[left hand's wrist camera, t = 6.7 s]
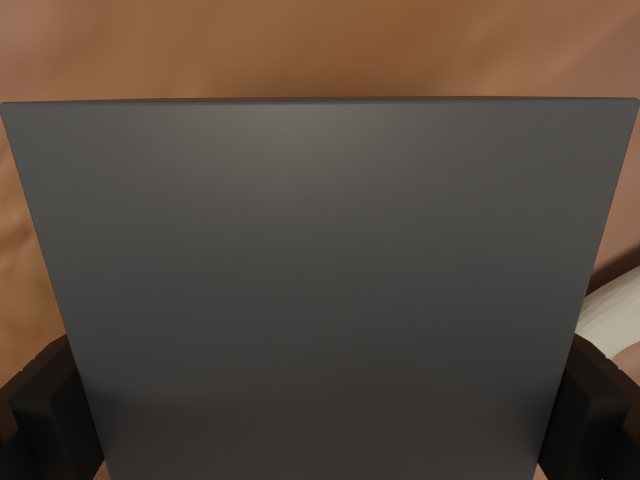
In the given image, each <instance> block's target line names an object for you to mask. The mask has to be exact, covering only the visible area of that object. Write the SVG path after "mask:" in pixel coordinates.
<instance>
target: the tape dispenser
mask: <svg viewBox="0 0 640 480" xmlns="http://www.w3.org/2000/svg"><path fill="white" fill-rule="evenodd" d="M575 333H576V334H578V335H580V336H581V337H583V338H585V339H587V340H588V341H590V342H592V343H593V344H594V345H595V346H596V347H597V348H598V349H599V350H600V351H601V352H602V353H604V354H605V355H606V358H609V359H610V360H611V359H612V358H613V357H614V356H615V355H616V354H617V353H619V352H620V351H622V350H623V349H625V348H626V347H628V346H630V345H632V344H634V343H636V342H639V341H640V266H638V267H636V268H634V269H633V270H631V271H629V272H627V273H625V274H623V275H621V276H620V277H618V278H616V279H614V280H613V281H611V282H609V283H607V284H605V285H604V286H602V287H600V288H599V289H597V290H596V291H594V292H593V293H591V294H589V295H588V296H586V297H585V298H584V302H583V305H582V309H581V312H580V316H579V319H578V323H577V326H576V330H575Z"/></svg>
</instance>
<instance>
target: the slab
mask: <svg viewBox="0 0 640 480" xmlns="http://www.w3.org/2000/svg"><path fill="white" fill-rule="evenodd" d="M639 105H640V100H639V99H637V98H609V97H522V96H415V97H276V98H155V99H115V100H75V101H35V102H3V103H1V104H0V114H1V117H2V120H3V124H4V127H5V130H6V134H7V137H8V140H9V144H10V147H11V150H12V154H13V157H14V160H15V164H16V167H17V170H18V174H19V177H20V180H21V184H22V187H23V190H24V194H25V197H26V200H27V204H28V207H29V210H30V214H31V217H32V220H33V224H34V227H35V230H36V234H37V237H38V240H39V244H40V247H41V250H42V254H43V257H44V260H45V264H46V267H47V270H48V273H49V277H50V280H51V283H52V287H53V290H54V293H55V297H56V300H57V303H58V307H59V310H60V313H61V317H62V320H63V323H64V327H65V330H66V333H67V337H68V340H69V343H70V347H71V350H72V353H73V357H74V360H75V363H76V367H77V370H78V373H79V377H80V380H81V383H82V387H83V390H84V393H85V397H86V400H87V403H88V407H89V410H90V413H91V417H92V420H93V423H94V427H95V430H96V433H97V437H98V440H99V443H100V447H101V450H102V453H103V457H104V460H105V463H106V467H107V470H108V473H109V477H110V480H533V477H534V473H535V470H536V466H537V463H538V459H539V456H540V452H541V449H542V445H543V442H544V438H545V435H546V431H547V428H548V424H549V421H550V417H551V414H552V410H553V407H554V403H555V400H556V396H557V393H558V389H559V386H560V382H561V379H562V375H563V372H564V368H565V365H566V361H567V358H568V354H569V351H570V347H571V344H572V340H573V337H574V333H575V330H576V326H577V323H578V319H579V316H580V312H581V309H582V305H583V302H584V298H585V295H586V291H587V288H588V284H589V281H590V277H591V274H592V270H593V267H594V263H595V260H596V256H597V252H598V249H599V245H600V242H601V238H602V235H603V231H604V228H605V224H606V221H607V217H608V214H609V210H610V207H611V203H612V200H613V196H614V193H615V189H616V186H617V182H618V179H619V175H620V172H621V168H622V165H623V161H624V158H625V154H626V151H627V147H628V144H629V140H630V137H631V133H632V130H633V126H634V123H635V119H636V116H637V112H638V109H639Z"/></svg>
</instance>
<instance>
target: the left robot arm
mask: <svg viewBox="0 0 640 480" xmlns="http://www.w3.org/2000/svg"><path fill="white" fill-rule="evenodd" d="M103 461H104V457H103V453H102V450H101V447H100V443H99V440H98V437H97V433H96V430H95V427H94V423H93V420H92V417H91V413H90V410H89V407H88V403H87V400H86V397H85V393H84V390H83V387H82V383H81V380H80V377H79V373H78V370H77V367H76V363H75V360H74V357H73V353H72V350H71V347H70V343H69V340H68V337H67V334H65V335H63V336H62V337H60V338H58V339H56V340H55V341H53V342H51V343H50V344H49V345H47V346H46V347H45V348H44V349H43V350H42V351H41V352H40V353H39V354H38V355H37V356H36V357H35V359H32V360H31V361H30V362H29V363H28V364H27V365H26V366H25V367H24V368H23V371H19V372H18V373H17V374H16V375H15V376H14V377H13V378H12V379H11V380H10V381H9V382H7V383H6V384H5V385H4V386H3V387H2V388H1V389H0V480H93V478H94V476H95V475H96V473H97V471H98V469H99V468H100V466H101V464H102V463H103ZM538 464H539V465H540V467H541V469H542V470H543V472H544V474H545V476H546V477H547V479H548V480H602V479H603V480H640V387H639V386H638V385H637V384H636V383H635V382H634V381H633V380H632V379H631V378H630V377H629V376H627V375H626V374H625V373H624V372H623V371H622V370H619V369H618V366H617V365H615V364H614V363H613V362H612V361H611V360H610V359H609V358H606V355H605V354H604V353H602V352H601V351H600V350H599V349H598V348H597V347H596V346H595V345H594V344H593V343H592V342H590V341H588V340H587V339H585V338H583V337H581V336H580V335H578V334H576V333H574V337H573V340H572V344H571V347H570V351H569V354H568V358H567V361H566V365H565V368H564V372H563V375H562V379H561V382H560V386H559V389H558V393H557V396H556V400H555V403H554V407H553V410H552V414H551V417H550V421H549V424H548V428H547V431H546V435H545V438H544V442H543V445H542V449H541V452H540V456H539V459H538Z"/></svg>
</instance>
